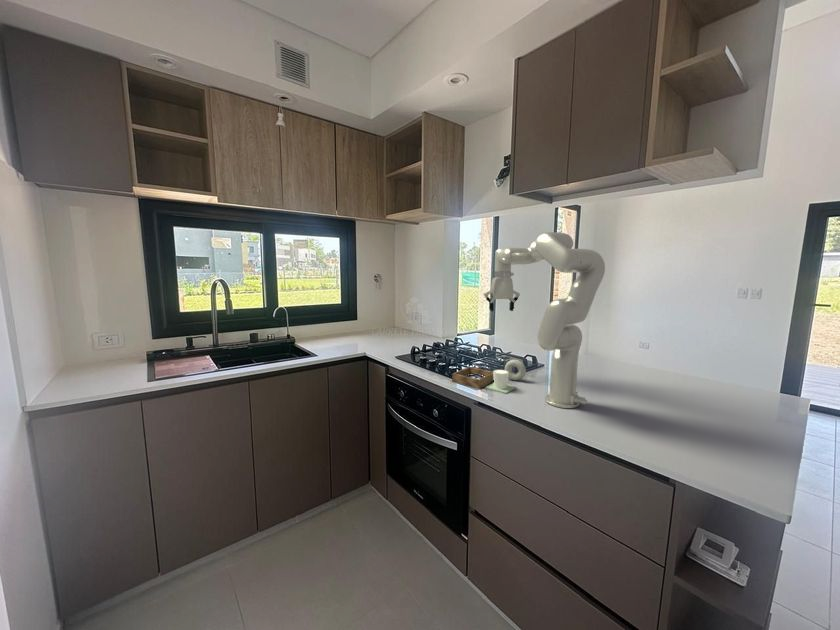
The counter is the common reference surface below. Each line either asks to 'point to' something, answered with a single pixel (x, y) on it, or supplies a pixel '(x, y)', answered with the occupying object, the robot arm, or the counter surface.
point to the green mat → (508, 389)
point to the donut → (520, 369)
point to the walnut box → (472, 382)
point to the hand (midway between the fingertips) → (501, 310)
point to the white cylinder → (500, 379)
